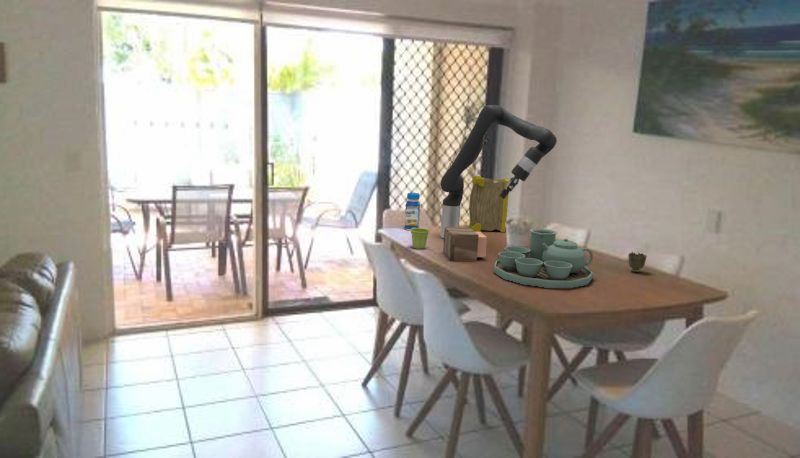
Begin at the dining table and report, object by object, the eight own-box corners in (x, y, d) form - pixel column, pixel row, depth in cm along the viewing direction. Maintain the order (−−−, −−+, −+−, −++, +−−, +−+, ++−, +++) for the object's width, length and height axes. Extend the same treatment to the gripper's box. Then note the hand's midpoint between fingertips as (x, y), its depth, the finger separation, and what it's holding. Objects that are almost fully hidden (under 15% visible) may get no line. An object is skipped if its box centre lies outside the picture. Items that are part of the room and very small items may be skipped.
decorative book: (502, 228, 353) (505, 176, 347) (506, 232, 342) (510, 179, 336) (467, 227, 351) (470, 175, 345) (470, 231, 340) (474, 177, 335)
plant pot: (429, 246, 301) (430, 228, 299) (428, 250, 291) (429, 232, 290) (410, 244, 301) (411, 227, 300) (408, 249, 292) (409, 231, 291)
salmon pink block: (458, 250, 288) (460, 231, 286) (478, 251, 289) (480, 231, 287) (464, 257, 276) (466, 236, 274) (485, 257, 277) (486, 237, 276)
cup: (644, 271, 271) (646, 253, 269) (645, 275, 264) (647, 256, 263) (626, 268, 273) (628, 251, 272) (626, 272, 266) (628, 254, 265)
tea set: (476, 266, 266) (479, 229, 263) (553, 261, 281) (557, 226, 278) (528, 293, 230) (532, 250, 227) (613, 286, 245) (618, 245, 242)
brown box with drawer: (443, 252, 289) (444, 227, 287) (468, 252, 291) (469, 227, 288) (450, 260, 273) (452, 234, 271) (476, 261, 275) (478, 234, 273)
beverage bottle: (422, 229, 340) (424, 193, 336) (412, 231, 334) (413, 194, 330) (411, 227, 345) (413, 191, 342) (400, 228, 339) (402, 192, 335)
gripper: (515, 163, 285) (494, 191, 287) (518, 163, 271) (495, 192, 273) (528, 173, 285) (507, 201, 287) (532, 173, 271) (509, 203, 273)
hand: (501, 197), depth 280 cm, fingers open, 8 cm apart
